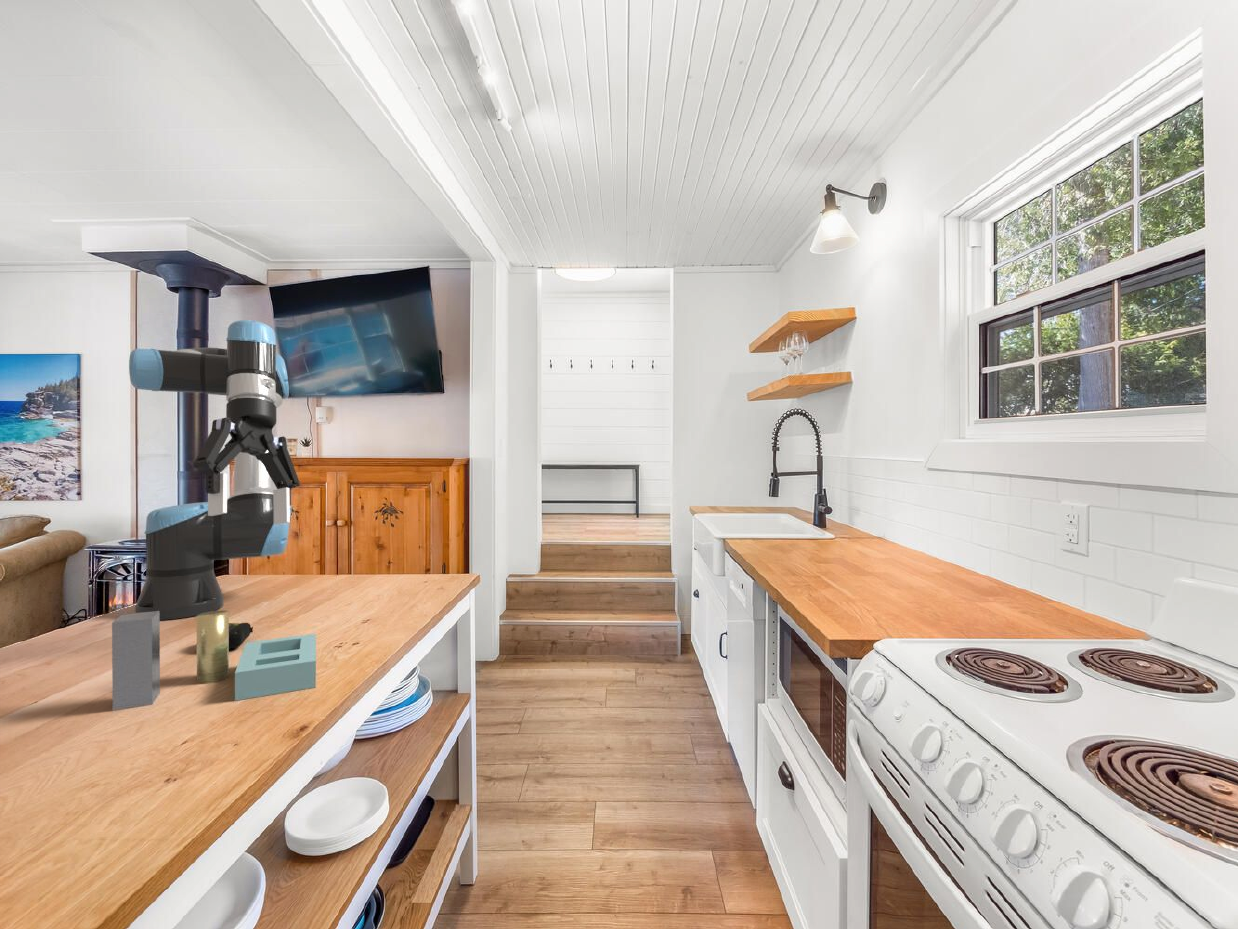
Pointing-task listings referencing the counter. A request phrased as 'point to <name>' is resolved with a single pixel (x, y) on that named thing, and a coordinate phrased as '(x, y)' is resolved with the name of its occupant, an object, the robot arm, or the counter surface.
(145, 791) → the counter surface
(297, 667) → the socket block
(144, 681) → the square bit
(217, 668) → the round bit
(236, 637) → the tape measure
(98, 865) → the counter surface
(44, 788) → the counter surface
